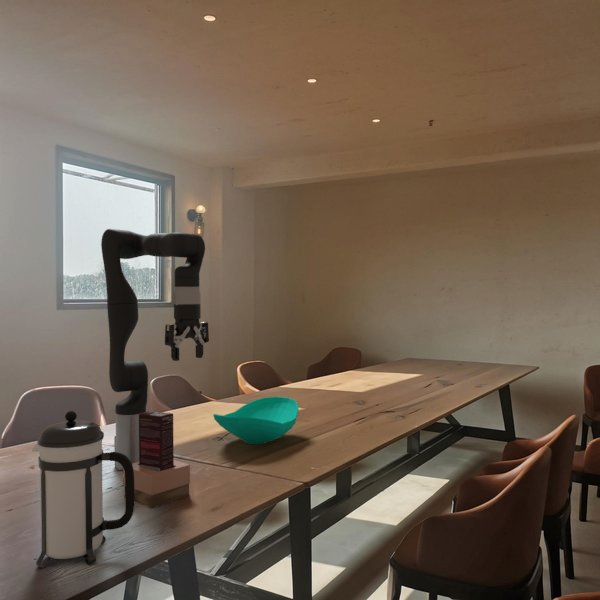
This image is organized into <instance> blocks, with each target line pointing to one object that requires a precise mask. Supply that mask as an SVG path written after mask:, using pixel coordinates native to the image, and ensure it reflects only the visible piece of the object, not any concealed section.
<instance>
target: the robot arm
mask: <svg viewBox="0 0 600 600" xmlns="http://www.w3.org/2000/svg"><path fill="white" fill-rule="evenodd" d="M100 241H101V243H100V245H101V254H102V261H103V267H104V268H103V269H104V274H105V283H106V299H107V300H106V302H107V304H106V305H107V321H108V332H109V364H108V365H109V368H108V369H109V370H108V371H109V372H108V373H109V374H108V375H109V383H110V387H111V389H112V391H114V392H116V393H123V392H130V393H129V395H127V397H126V398H124V399H122V400H121V401H119V402H117V403H116V405H115V409H114V410H115V436H114V438H113V439H114V443H113V444H114V452H119V453H122V454H124V455H126V456H127V457H128V458H129V460H130V461H131V463H136V462H139V413H143V412H147V403H148V390H149V388H148V387H149V386H148V385H149V372H148V367H147V365H146V363H145V362H144V361H142V360H130V361H125V352H126V347H127V344H128V341H129V340H130V338H131V335H132V334H133V332H134V330H135V328H136V326H137V324H138V321H139V304H138V298H137V295H136V293H135V292H134V289H133V287H132V286H131V285H130V283H129V282H128V280H127V278H126V277H125V274H124V272H123V268H122V263H121V259H123V260H129V259H135V258H139V257H142V256H143V257H144V256H151V257H159V258H160V257H162V258H171V257H173V258H185V263H184V265H180V266H177V267H175V268H174V292H173V319H174V322H175V323H165V325H164V326H165V329H164V345H165V346H168V347H170V348H171V349H170V350H171V351H170V352H171V353H170V358H171V359H172V361H174V362H179V361H180V344H181V342H183V341H184V340H185V339H192V340H193V342H194V343H195V357H196V359H201V358H203V357H204V345H205V344H206V343H209V342H210V334H209V323H208V322H207V321H200V319H201V317H202V316H201V315H202V314H201V311H202V310H201V289H200V272H201V270H202V269H201V268H202V264H203V260H204V257H205V253H206V244H205V241H204V239H203V237H202V236H201V235H200V234H198V233H191V232H190V233H188V232H176V231H175V232H170V233H167V232H158V233H151V234H148V235H147V234H146V235H144V234H140V233H136V232H133V231H131V230H124V229H117V228H107V229H105V230H104V232H103V233H102V236H101V240H100ZM114 467H115V468H116V470H118V471H123V466H122V465H121V464H120V463H119V462H116V461H114Z"/></svg>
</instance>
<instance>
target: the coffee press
mask: <svg viewBox="0 0 600 600" xmlns="http://www.w3.org/2000/svg"><path fill="white" fill-rule="evenodd" d="M64 415H65V416H64V418H65V421H60V422H55V423H54V424H53V423H52V424H50V425H48V426H47V427H45V428H44V429H43V430H42V431H41V433H40V434H39V437H38V438H37V440H36V442H37V443H35V444H34V445H33V447H32V449H31V451H32V452H38V454H39V456H38V458H37V459H38V460H37V461H38V468H39V484H40V485H39V492H40V493H39V495H40V496H39V499H40V500H39V502H40V504H39V505H40V506H39V509H40V510H39V511H40V514H39V515H40V518H39V519H40V549H41V552H40V554H39V557H38V558H37V560H36V563H35V564H36V566H37V567H38V568H40V569H44V568H46V566H47V565H48V564H49V563H50V561H52V560H53V559H56V560H68V559H75V558H79V557H82V558H83V559H84V561H85V563H86V565H88V566H90V565H93V564H95V563H96V562H97V558H96V555H95V552H94V551H95V550H97V549H98V548H99V547H100V546H101V545H104V544H105V542H106V541H107V540H106V539H107V537H105V535H104V531H110V530H117V529H120V528H123V527H124V526H126V525H127V524H128V523H129V522H130V521H131V519H132V517H133V515H134V512H135V502H134V501H135V495H134V470H133V466H132V463H131V461H130V460H129V458H128V457H127V456H126V455H124V454H122V453H119V452H115V451H110V452H104V449H103V439H104V438H105V437H104V436H105V433H104V431H102V429H101V427H100V425H98V424H97V423H95V422H92V421H89V420H76V419H77V418H78V415H77V413H76V412H75V411H74V410H69V411H67V412H66V413H65V414H64ZM104 461H110V462H115V461H116V462H119V463H120V464H121V465H122V466H123V468H124V471H125V485H124V499H125V503H124V504H125V511H124V513H123V515H122V516H121V517H120V518H118V519H109V520H107V519H105V518H104V511H103V510H104V508H103V507H104V505H103V503H104V502H103V499H104V498H103V495H104V494H103V462H104ZM45 556H46V558H45ZM44 558H45V560H44ZM43 560H44V561H43Z"/></svg>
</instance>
